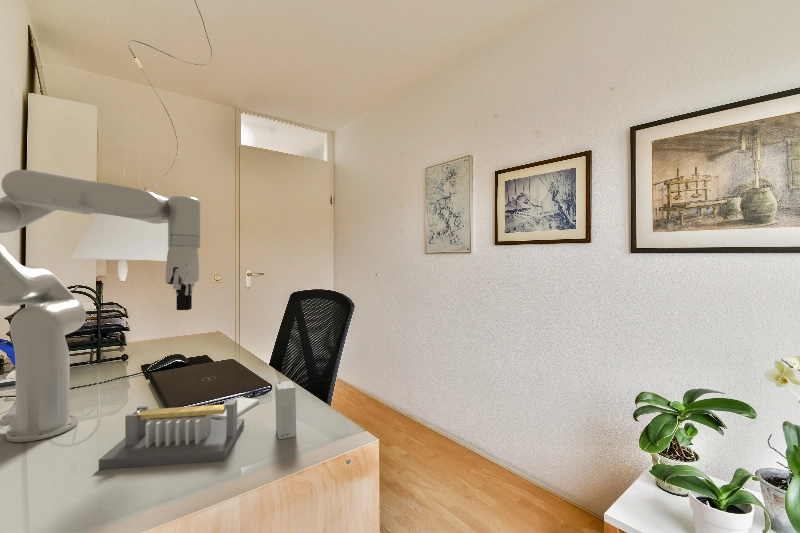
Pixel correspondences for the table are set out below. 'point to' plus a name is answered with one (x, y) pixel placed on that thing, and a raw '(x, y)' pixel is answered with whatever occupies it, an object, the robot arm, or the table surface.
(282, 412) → the skincare box
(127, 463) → the cooler base
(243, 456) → the table surface
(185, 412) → the bar
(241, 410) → the external hard drive
